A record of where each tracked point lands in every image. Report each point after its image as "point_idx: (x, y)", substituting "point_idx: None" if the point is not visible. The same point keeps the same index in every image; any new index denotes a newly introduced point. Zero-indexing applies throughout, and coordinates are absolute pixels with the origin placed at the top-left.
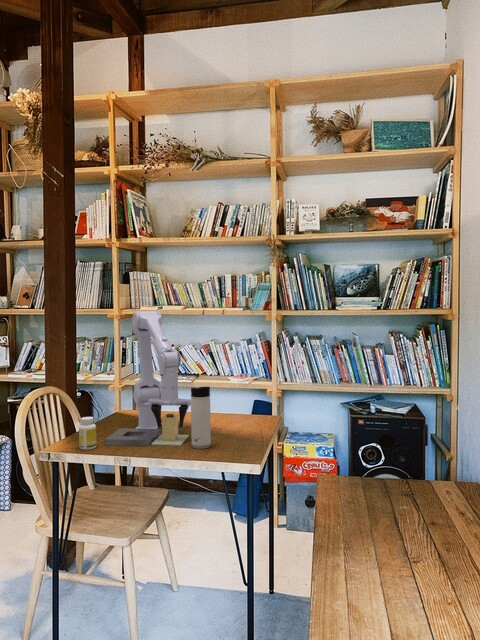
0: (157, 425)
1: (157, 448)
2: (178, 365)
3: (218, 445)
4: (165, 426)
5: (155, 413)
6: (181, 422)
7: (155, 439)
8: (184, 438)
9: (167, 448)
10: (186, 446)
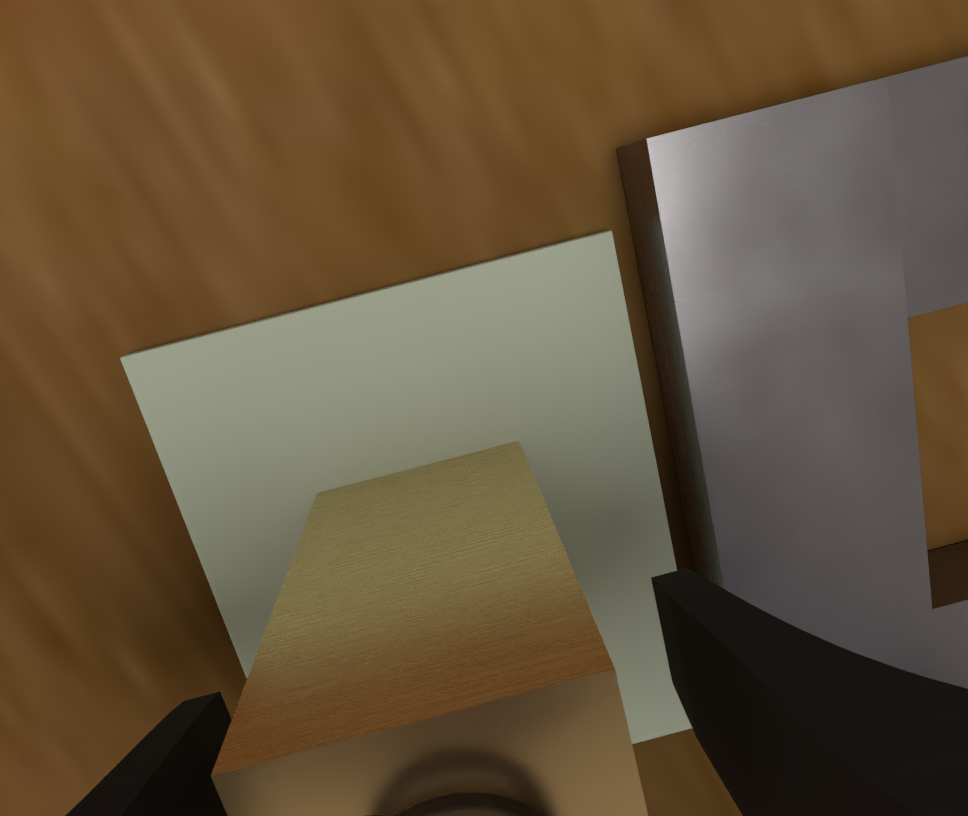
0: (703, 577)
1: (409, 77)
2: None
3: None
4: (486, 562)
5: (903, 709)
6: (118, 765)
7: (686, 520)
8: None
9: (246, 133)
10: (14, 344)
